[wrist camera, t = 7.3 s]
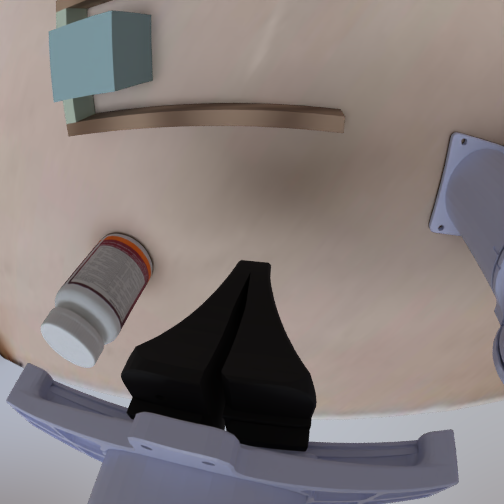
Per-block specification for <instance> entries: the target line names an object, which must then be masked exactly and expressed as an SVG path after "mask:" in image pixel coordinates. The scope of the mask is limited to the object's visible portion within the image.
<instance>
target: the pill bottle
mask: <svg viewBox="0 0 504 504" xmlns="http://www.w3.org/2000/svg"><path fill="white" fill-rule="evenodd" d="M151 275H152V262H151V259H150V257H149V255H148V253H147V251H146V250H145V249H144V247H143V246H142V245H141V244H140V243H138V242H137V241H136V240H134V239H132V238H131V237H128V236H126V235H122V234H110V235H107V236H105V237H104V238H102V239H101V240H100V241H99V243H98V244H97V245H96V246H95V247H94V248H93V250H92V251H91V252H90V253H89V254H88V256H87V257H86V258H85V259H84V260H83V262H82V263H81V264H80V265H79V266H78V268H77V269H76V270H75V271H74V272H73V274H72V275H71V276H70V277H69V279H68V280H67V281H66V282H65V284H64V285H63V286H62V287H61V288H60V290H59V291H58V293H57V295H56V298H55V307H56V308H53V309H52V310H51V312H50V313H49V315H48V316H47V318H46V319H45V320H44V322H43V323H42V325H41V332H42V335H43V337H44V339H45V340H46V341H47V343H48V344H49V345H50V346H51V347H52V348H53V349H54V350H55V351H56V352H57V353H58V354H59V355H61V356H62V357H63V358H65V359H66V360H68V361H70V362H71V363H73V364H76V365H78V366H81V367H85V368H90V367H93V366H94V365H95V363H96V361H97V360H98V358H99V356H100V354H101V353H102V351H103V349H104V345H105V344H108V343H111V342H112V341H114V340H115V339H116V337H117V336H118V334H119V333H120V331H121V329H122V327H123V325H124V323H125V321H126V320H127V318H128V316H129V314H130V312H131V311H132V309H133V307H134V305H135V304H136V302H137V300H138V298H139V297H140V295H141V293H142V291H143V290H144V288H145V286H146V285H147V283H148V281H149V279H150V278H151Z"/></svg>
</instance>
